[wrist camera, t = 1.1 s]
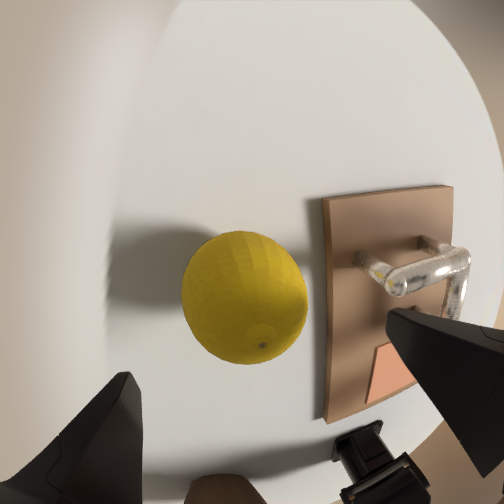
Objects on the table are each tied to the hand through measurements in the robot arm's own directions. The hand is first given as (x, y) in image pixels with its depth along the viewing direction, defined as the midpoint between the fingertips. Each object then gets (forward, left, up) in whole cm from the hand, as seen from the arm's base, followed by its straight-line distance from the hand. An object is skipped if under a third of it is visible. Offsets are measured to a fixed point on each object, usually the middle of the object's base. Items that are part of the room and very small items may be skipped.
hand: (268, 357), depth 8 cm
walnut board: (-7, -12, -9) cm, 16 cm away
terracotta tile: (-13, -14, -9) cm, 21 cm away
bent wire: (-4, -11, -9) cm, 14 cm away
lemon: (0, 0, -9) cm, 9 cm away
